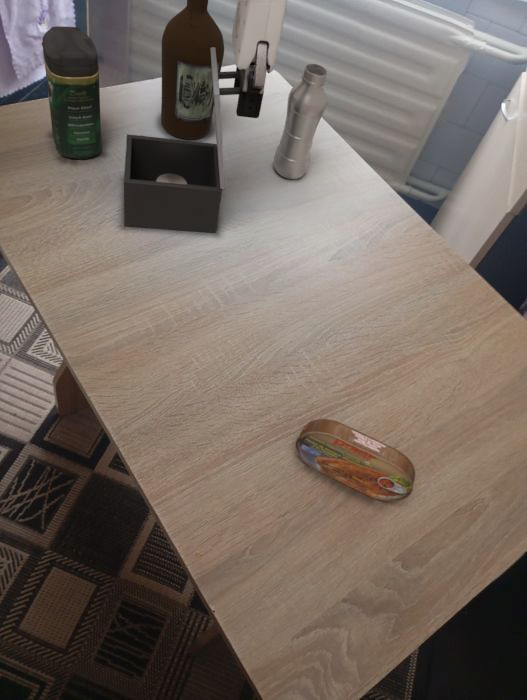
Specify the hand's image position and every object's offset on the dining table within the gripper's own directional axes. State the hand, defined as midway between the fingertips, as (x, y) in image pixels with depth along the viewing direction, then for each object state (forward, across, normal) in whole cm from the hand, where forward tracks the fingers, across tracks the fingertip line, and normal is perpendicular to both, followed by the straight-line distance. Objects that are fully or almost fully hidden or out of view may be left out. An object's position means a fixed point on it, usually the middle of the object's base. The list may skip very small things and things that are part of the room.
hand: (245, 102), depth 81 cm
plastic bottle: (+20, -12, +12) cm, 27 cm away
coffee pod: (+19, 0, -10) cm, 22 cm away
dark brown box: (+20, 0, -10) cm, 22 cm away
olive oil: (+20, -23, -7) cm, 31 cm away
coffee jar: (+20, -14, -26) cm, 36 cm away
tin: (+20, +48, +12) cm, 54 cm away
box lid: (+3, 0, -4) cm, 5 cm away
